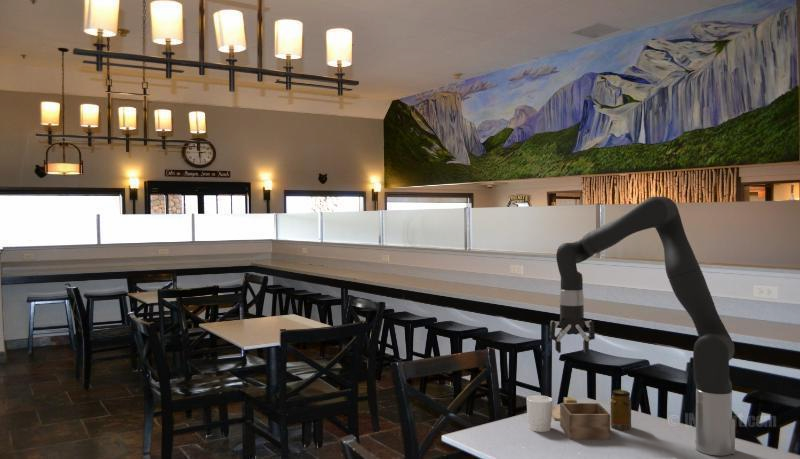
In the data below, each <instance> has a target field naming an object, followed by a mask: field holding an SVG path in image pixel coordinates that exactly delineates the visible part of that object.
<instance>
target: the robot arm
mask: <svg viewBox="0 0 800 459" xmlns="http://www.w3.org/2000/svg"><path fill="white" fill-rule="evenodd" d="M652 228H655V230H656V233H657V234H658V236H659V239H660V240H661V244H662V246H663V254H664V256H663V257H664V267H665V274H666V276H667V279H668V282H669V284H670V288H672V292H673V293H674V295H675V297H676V299H677V300H678V301H679V303H680V304H681V306H682V307H683V309H684V310H685V311H686V313H687V314H688V316H690V319H691V320H692V323H693V324H694V327H695V329H696V333H697V336H698V338H697V340H696V341H695V342H694V346H693V351H692V352H693V356H692V357H693V358H692V360H693V363H692V364H693V366H692V367H693V379H694V381H695V450H697V451H698V452H701V453H702V454H706V455H710V456H718V457H720V456H723V457H724V456H729V455H734V454H736V421H735V419H734V418H733V383H732V381H731V379H730V361H731V360H732V359H733V358H734V355H735V352H736V351H735V349H736V348H735V343H734V341H733V340H732V337H731V336H730V334H729V331H728V330H727V328H726V326H725V324H724V322H723V321H722V319H721V316H720V315H719V313H718V310H717V309H716V304H715V302H714V299H713V297H712V294H711V292H710V289H709V286H708V284H707V281H706V279H705V278H706V277H705V276H704V273H703V271H702V269H701V267H700V264H699V262H698V260H697V258H696V255H695V253H694V250H693V248H692V245H691V244H690V242H689V239H688V238H687V237H688V236H687V235H686V232H685V228H684V225H683V221H682V217H681V215H680V211H679V207H678V206H677V204H676V202H675V201H674V200H672V199H671V198H669V197H667V196H651V197H648V198H645V199H644V200H643V201H642V202H640V203H639V204H638V205H637V206H635V207H634V208H632V209H631V210H630V211H628V212H627V213H625V214H623V215H622V216H620V217H619V218H616V219H615V220H612V221H610V222H608V223H606V224H604V225H601V226H599V227H598V228H596V229H594V230H591V231H589V232H588V233H586V234H584V236H582V238H581V239H579V240H576V241H572V242H564V243H561V244H560V245H559V246H558V248H557V249H556V254H555V255H556V256H555V257H556V258H555V259H556V265H557V267H558V271H559V276H560V294H559V320H558V321H555V320H550V322H549V338H550V339H551V340H552V341H555V346H554V347H555V351H556V352H557V353H559V354H560V353H561V352H562V351H561V350H562V349H561V347H562V345H561V344H562V342H561V340H562V338H563V337H565V336H566V335H569V336H570V335H578V334H579V335H580V336H581V337H582V339H583V340H582V347H583V348H582V350H583V353H586V354H587V353H588V352H589V349H590V344H589V343H590V341H592V340H595V339H596V335H595V323H594V321H592V320H591V319H590V320H585V319H584V318H585V315H584V312H585V311H584V308H585V307H584V306H585V302H584V301H585V300H584V290H583V289H584V287H583V285H584V283H583V281H584V280H583V279H584V278H583V275H582V273H581V272H580V271H578V268H577V264H580V263H582V262H584V261H586V260H588V259H589V258H590V259H591V257H593V256H594V255H595V254H598V253H601V252H602V251H605V250H607V249H609V248H612V247H613V246H615V245H617V244H618V243H620V242H621V241H623V240H624V239H625V238H627V237H629V236H631V235H633V234H636V233H638V232H641V231H644V230H645V231H646V230H649V229H652ZM558 326H559V327H560V330H559V331H558V333H557V335H556V328H558ZM585 326H586V328H588V335H587V334H586V333H585V331H584V327H585Z"/></svg>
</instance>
